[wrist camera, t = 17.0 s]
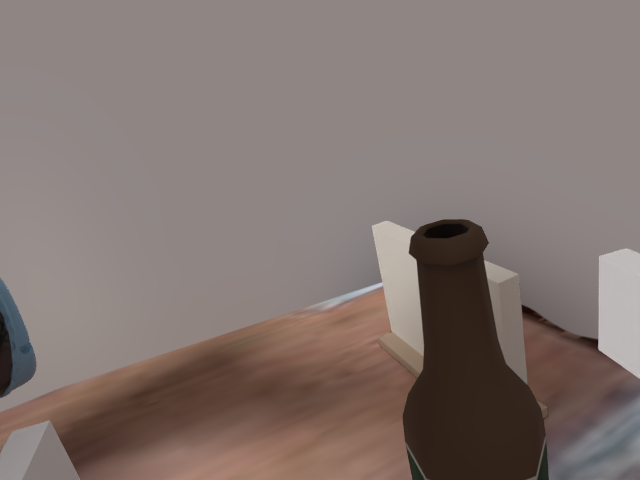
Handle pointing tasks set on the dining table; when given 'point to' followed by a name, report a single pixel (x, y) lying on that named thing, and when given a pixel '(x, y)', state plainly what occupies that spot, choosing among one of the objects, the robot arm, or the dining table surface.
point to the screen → (407, 310)
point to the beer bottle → (466, 371)
